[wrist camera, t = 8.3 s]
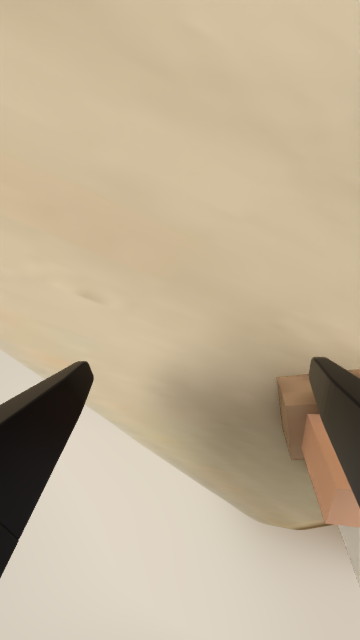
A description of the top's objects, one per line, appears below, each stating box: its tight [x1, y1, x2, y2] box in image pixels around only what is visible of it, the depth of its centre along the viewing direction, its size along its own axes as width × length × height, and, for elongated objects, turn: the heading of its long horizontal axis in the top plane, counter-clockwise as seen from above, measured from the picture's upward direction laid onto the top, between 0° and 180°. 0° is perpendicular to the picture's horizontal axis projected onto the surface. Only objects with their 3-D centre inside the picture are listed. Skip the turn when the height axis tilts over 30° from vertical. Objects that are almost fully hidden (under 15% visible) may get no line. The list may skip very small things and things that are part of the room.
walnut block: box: [277, 369, 360, 460], centre depth 23 cm, size 8×8×4 cm
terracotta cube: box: [301, 414, 360, 527], centre depth 18 cm, size 5×5×6 cm
